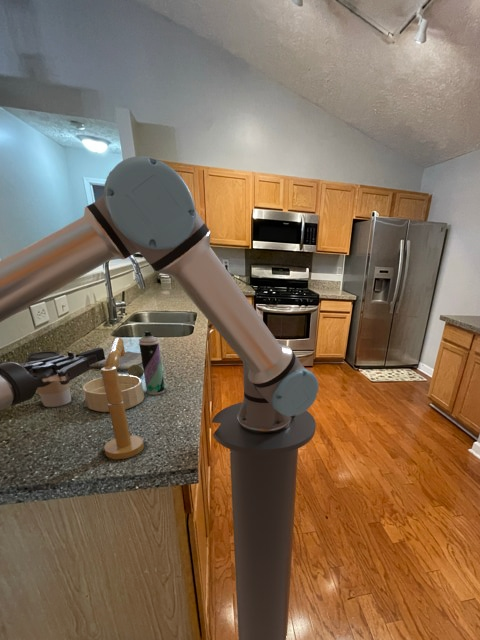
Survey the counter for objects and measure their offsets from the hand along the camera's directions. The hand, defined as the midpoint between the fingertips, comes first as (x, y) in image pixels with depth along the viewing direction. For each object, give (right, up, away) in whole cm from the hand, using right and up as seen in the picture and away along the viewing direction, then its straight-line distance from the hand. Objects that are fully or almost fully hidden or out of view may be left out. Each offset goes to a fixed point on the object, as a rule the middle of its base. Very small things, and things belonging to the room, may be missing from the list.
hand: (101, 353), depth 77 cm
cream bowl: (-8, -12, +19) cm, 24 cm away
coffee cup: (-24, -12, +17) cm, 32 cm away
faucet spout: (+3, -7, +3) cm, 8 cm away
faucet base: (+8, -23, -3) cm, 24 cm away
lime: (-11, -3, +38) cm, 40 cm away
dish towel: (-23, +4, +52) cm, 57 cm away
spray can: (+1, -9, +28) cm, 29 cm away
